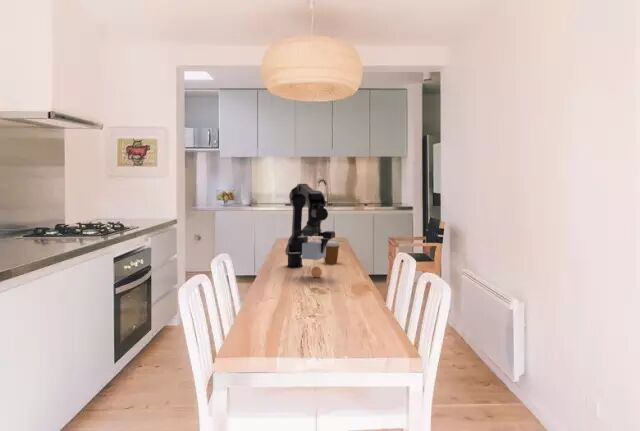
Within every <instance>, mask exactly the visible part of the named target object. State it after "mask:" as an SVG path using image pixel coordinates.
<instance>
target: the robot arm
mask: <svg viewBox="0 0 640 431" xmlns="http://www.w3.org/2000/svg"><path fill="white" fill-rule="evenodd" d="M288 196H289V200H290V201H289V202H290V204H291V207H292V222H291V224H292V225H291V226H292V227H291V235H290V237H289V238H288V242H287V244H286V247H285V250H284V251H285V255H286V256H287V265H286V267H287V268H301V267H303V259H302V243H306V242H309V238H310V237H322V238H320V242H322V244H321V253H323V251H324V249H325V247H326V244H327V242H328V241H330V240H332V239H334V238H336V232H335V231H333V230H331V231H330V230H326V231H323V232H322V229H321V228H322V227H321V224H322V222H323V221H325V220H326V219H327V218H328V217H329V212H328V210H327V209H326V208H325V207H326V204H327V202H326V198H325V197H324V196H325V195H324V193H323V192H322V191H321V190H314V189H313V188H312V187H310V186H309V184H307V183H298V184H297V185H296V186H295V187H293V188H292V189H291V190H290V192H289V195H288ZM306 205H307V210H308V211H307V221H306V225H305V226H304V227H303V228H302V220H303V208H304V207H305V206H306Z"/></svg>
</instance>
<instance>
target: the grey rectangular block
mask: <svg viewBox="0 0 640 431" xmlns="http://www.w3.org/2000/svg"><path fill="white" fill-rule="evenodd" d="M321 244H322V242H321V241H317V240H316V241H315V240H311V241H308V242H306V243H302V255H301V258H302V260H304V259H305V260H313V261H318V260H321V259H324V258H325V257H326V247H325V249H324V251H323V253H321Z"/></svg>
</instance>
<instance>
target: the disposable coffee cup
mask: <svg viewBox="0 0 640 431" xmlns="http://www.w3.org/2000/svg"><path fill="white" fill-rule="evenodd" d="M340 245H341V243H340V241H339V240H329V241H328V242H327V244H326V257H325V258H323V259H324V264H325V265H328V266H329V265H337V262H338V256H339V249H340Z"/></svg>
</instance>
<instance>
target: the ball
mask: <svg viewBox="0 0 640 431" xmlns="http://www.w3.org/2000/svg"><path fill="white" fill-rule="evenodd" d="M310 274H311V276H312V277H313V278H320V277H321V276H322V274H323V271H322V268H321V267H319V266H314V267H313V268H311V270H310Z"/></svg>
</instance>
